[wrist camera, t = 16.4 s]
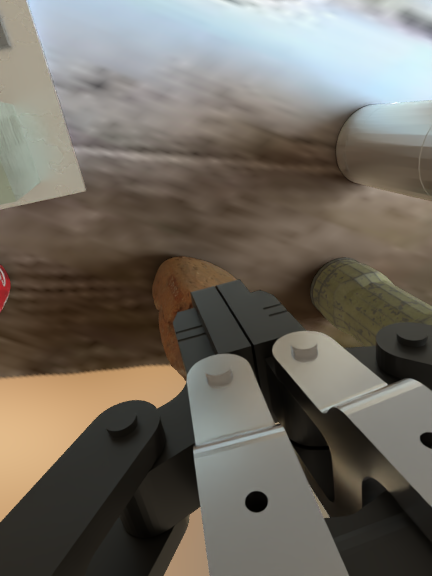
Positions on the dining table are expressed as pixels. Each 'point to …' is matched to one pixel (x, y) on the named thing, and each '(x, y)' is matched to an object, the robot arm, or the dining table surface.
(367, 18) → the dining table surface
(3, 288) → the soda can
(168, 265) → the brown oblong lump
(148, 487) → the robot arm
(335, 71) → the dining table surface
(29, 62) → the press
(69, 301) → the dining table surface
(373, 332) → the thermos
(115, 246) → the dining table surface
